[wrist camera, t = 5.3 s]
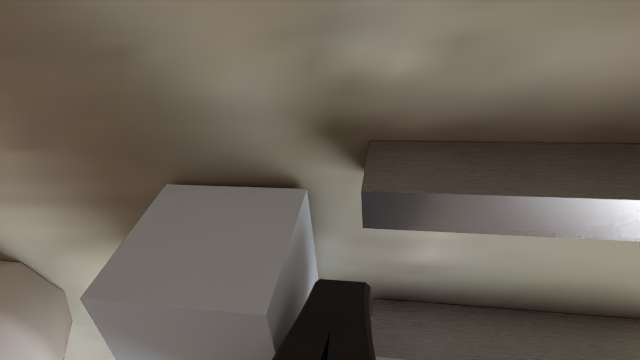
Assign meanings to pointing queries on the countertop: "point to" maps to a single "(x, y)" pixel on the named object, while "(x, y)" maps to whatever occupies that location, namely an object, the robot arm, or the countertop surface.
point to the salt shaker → (31, 315)
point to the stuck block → (207, 275)
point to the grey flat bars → (502, 219)
